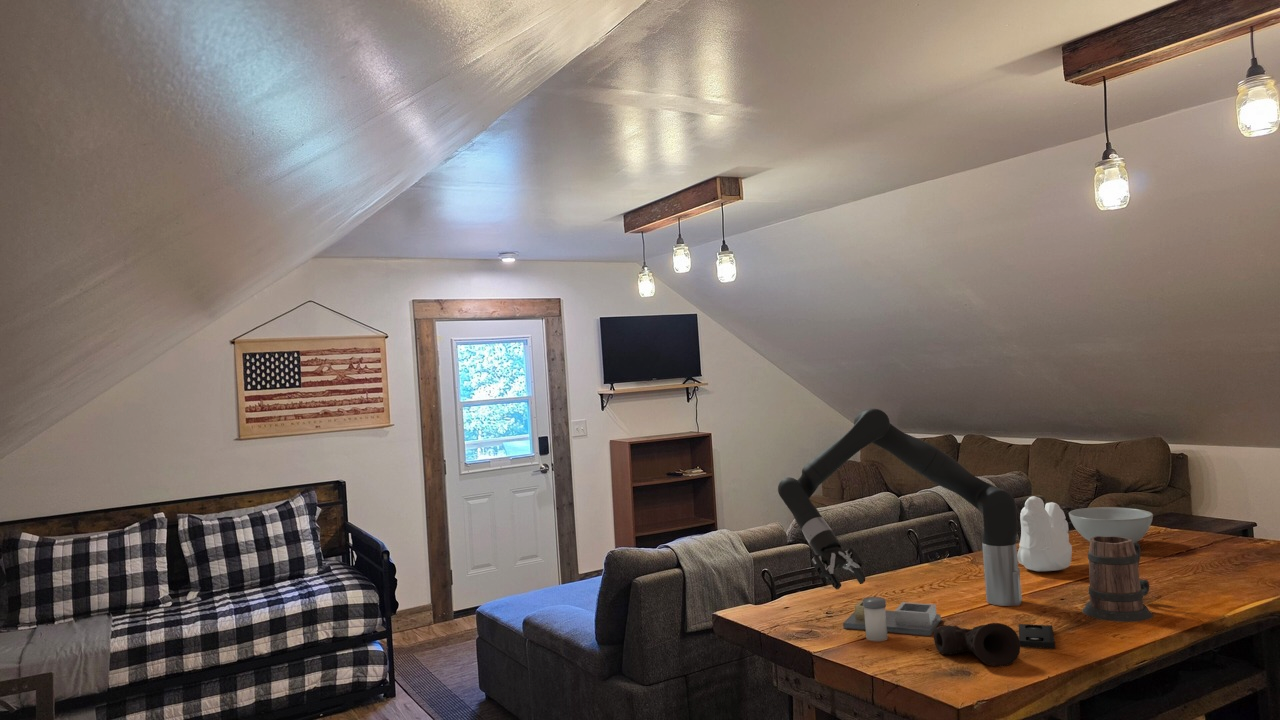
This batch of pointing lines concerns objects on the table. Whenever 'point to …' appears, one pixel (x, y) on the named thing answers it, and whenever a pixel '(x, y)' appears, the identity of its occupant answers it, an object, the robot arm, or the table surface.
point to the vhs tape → (1036, 636)
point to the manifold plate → (901, 619)
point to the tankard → (1116, 581)
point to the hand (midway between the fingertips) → (851, 585)
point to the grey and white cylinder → (875, 618)
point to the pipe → (980, 642)
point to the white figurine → (1044, 537)
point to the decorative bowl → (1111, 522)
